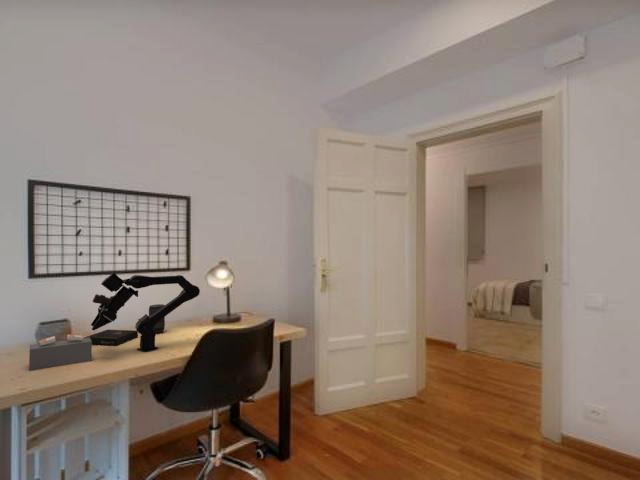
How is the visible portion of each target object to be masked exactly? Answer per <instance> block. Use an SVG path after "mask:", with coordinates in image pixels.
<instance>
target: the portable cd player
mask: <svg viewBox="0 0 640 480" xmlns="http://www.w3.org/2000/svg"><path fill="white" fill-rule="evenodd" d="M138 336H139V333H138V331H137V330H132V329H131V330H130V329H129V330H127V329H106V330H102V331H98V332H95V333H93V334H91V335H87V336H84V337H83V338H89V337H90V339H91V341H92V346H98V345H100V346H101V347H102V346H103V347H118V346H121V345H122V344H125V343H128V342H130V341H132V339H133V340H135V339H137V338H139V337H138ZM120 344H121V345H120Z"/></svg>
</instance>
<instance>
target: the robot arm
mask: <svg viewBox="0 0 640 480" xmlns="http://www.w3.org/2000/svg"><path fill="white" fill-rule="evenodd" d="M124 284H125V285H124ZM173 284H175V285H179V286H180V287H181V288H182V290H181V291H180V293H179V294H178V295H177V296H176V297H174V298H173V299H172V300H169V302H168V303H166V304H164V305H165V306H163V307H162V308H161V309H159V310H158V311H157V312H155V313H154V314H152V315H150V316H149V314H146V313H145V314H144V315H143V316H142V317H140V318H138V319H137V320H138V321H137V322H136V323H135V326H134V328H135V329H136V330H135V331H138V334H139V335H140V336H139V337H140V338H139V347H138V348H136V350H137V351H140V352H144V353H145V352H146V353H147V352H149V351H153V350H156V349H157V350H158V349H159V347H158V346H156V336H157V334H156V332H155V331H154V330H153V328H154V327H155V325H156V324H157V323H158V322H159V321H160V320H161V319H162V318H164V317H165V318H166V317H167V315H169V314H171V312H172V313H173V311H174V310H176V309H177V308H179V307H180V306H182V305H183V304H184V303H187V302H188V301H191V300H193V299H195V298H197V297H198V296H200V293H201V289H200V288H199V286H197V285H194V284H192V283H191V282H190V281H189V280H187V279H186V278H185V276H183V275H181V274H177V275H164V276H163V275H162V276H161V275H160V276H148V275H143V274H142V275H141V274H140V275H139V274H134V275H132V276H131V277H130V278H125V279H122V278H120V277H119V276H118V275H117V274H116V273H115V272H112V273H111V274H110V275H108V276H107V277H105V278H104V280H102V281H101V283H100V285H102V286H103V287H104V288H106V290H109V291H110V292H111V293H113V292H115V294H114V295H112V296H110V297H108V296H106V295H105V294H101V295H100V294H97V293H95V295H94V297H93V298H92V303H94V304H99V306H98V308H97V311H98V312H97V314H96V316H95V318H94V319H93V321H92V322H91V324H90V325H91V326H92V327H91V330H92V331H93V332H94V331H96V330H98V329H100V328H101V327H104V326H106V325H108V324H111V323H113V322H115V320H116V319H117V318H118V315H117V314H118V312H119V310H120V309H122V308H124V306H125V304H126V303H127V302H128V301H129V300H130V299H131V298H132V297H133V296H135V297H137V298H138V297H139V290H137V289H143V288H148V287H151V286H159V285H160V286H161V285H173ZM127 286H129V287H127ZM130 286H131V287H130ZM135 289H136V290H135Z"/></svg>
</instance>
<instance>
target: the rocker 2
mask: <svg viewBox="0 0 640 480" xmlns="http://www.w3.org/2000/svg"><path fill="white" fill-rule="evenodd" d="M83 338H84V337H83V335H80V334H79V335H78V334H67V336H66V339H67V340H82V339H83Z"/></svg>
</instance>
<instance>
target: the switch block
mask: <svg viewBox="0 0 640 480" xmlns="http://www.w3.org/2000/svg"><path fill="white" fill-rule="evenodd" d="M92 350H93V345H92V341H91V339H90V337H89V338H84V337H83V339H82V340H69V339H67V340H58V341H57V340H56V341H54V342H51V343H48V344H45V345H42V346H40V343H33V344H29V358H28V359H29V360H28V361H29V362H28V363H29V364H28V365H29V366H28V372H29V371H36V370H37V371H38V370H42V369H48V368H54V367H61V366H67V365H73V364H74V365H75V364H80V363H85V362H92Z"/></svg>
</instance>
